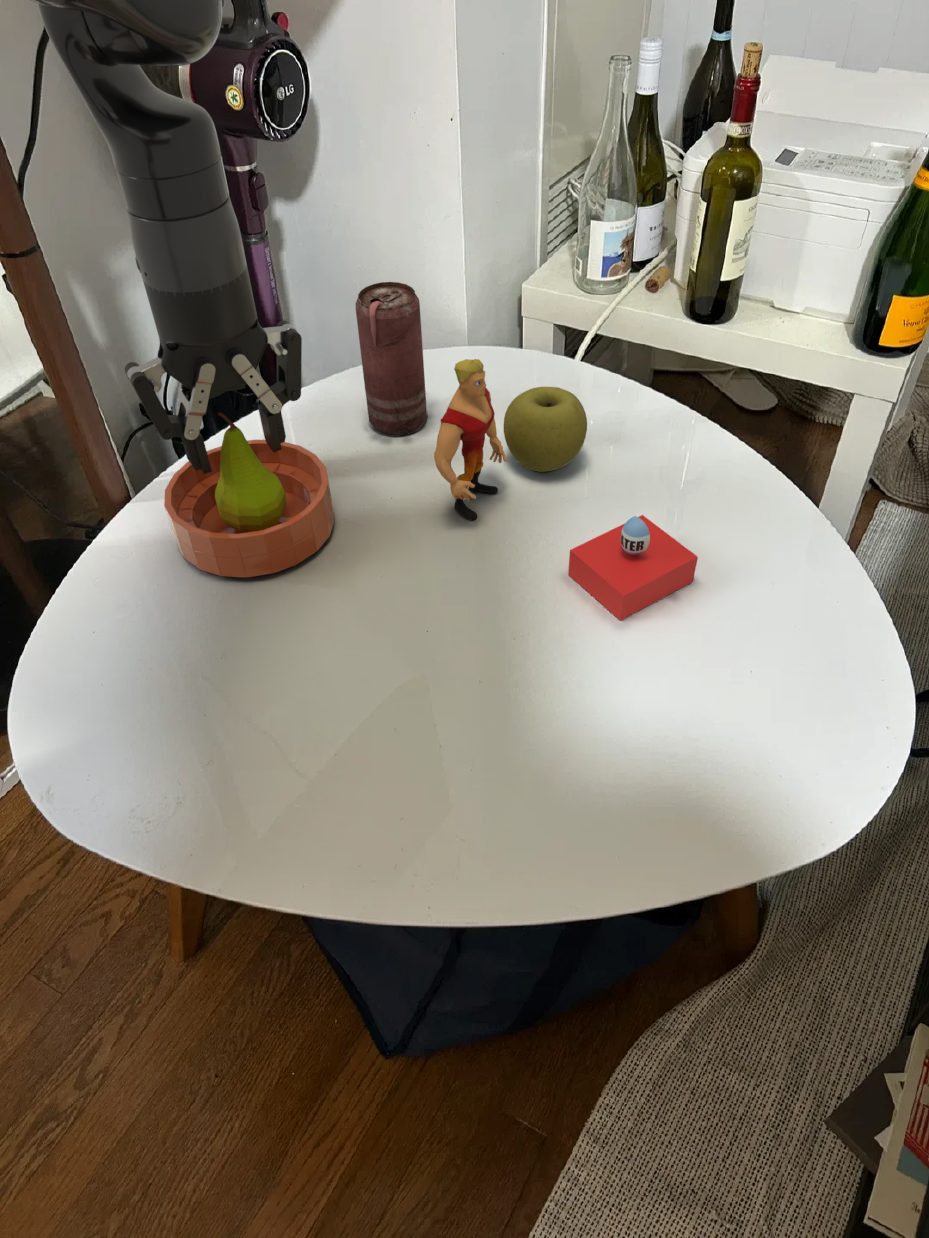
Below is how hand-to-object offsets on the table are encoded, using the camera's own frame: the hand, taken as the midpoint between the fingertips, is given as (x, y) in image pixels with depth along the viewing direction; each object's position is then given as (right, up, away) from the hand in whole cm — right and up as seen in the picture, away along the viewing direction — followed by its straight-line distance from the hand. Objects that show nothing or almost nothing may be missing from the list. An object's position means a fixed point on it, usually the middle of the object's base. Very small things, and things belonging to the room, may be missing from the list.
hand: (239, 457), depth 79 cm
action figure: (+20, -3, +8) cm, 22 cm away
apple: (+27, +1, +12) cm, 30 cm away
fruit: (0, -5, +5) cm, 8 cm away
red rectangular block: (+33, -11, 0) cm, 35 cm away
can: (+12, +7, +18) cm, 23 cm away
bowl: (0, -6, +6) cm, 8 cm away
